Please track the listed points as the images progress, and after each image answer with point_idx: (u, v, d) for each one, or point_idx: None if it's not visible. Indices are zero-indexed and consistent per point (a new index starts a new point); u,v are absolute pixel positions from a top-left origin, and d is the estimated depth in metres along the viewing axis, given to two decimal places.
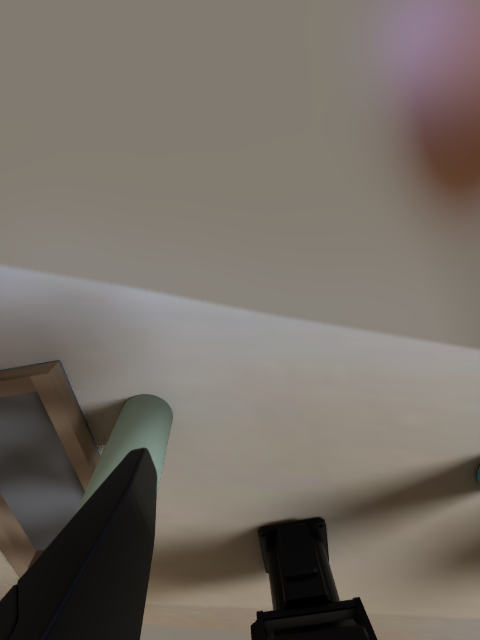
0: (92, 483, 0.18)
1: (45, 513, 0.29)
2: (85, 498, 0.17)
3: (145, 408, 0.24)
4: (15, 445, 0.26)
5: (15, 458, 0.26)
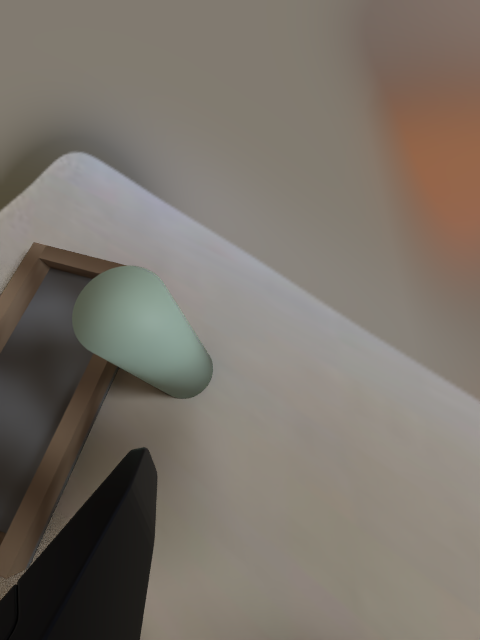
0: None
1: None
2: None
3: None
4: (52, 336, 0.25)
5: (37, 349, 0.25)
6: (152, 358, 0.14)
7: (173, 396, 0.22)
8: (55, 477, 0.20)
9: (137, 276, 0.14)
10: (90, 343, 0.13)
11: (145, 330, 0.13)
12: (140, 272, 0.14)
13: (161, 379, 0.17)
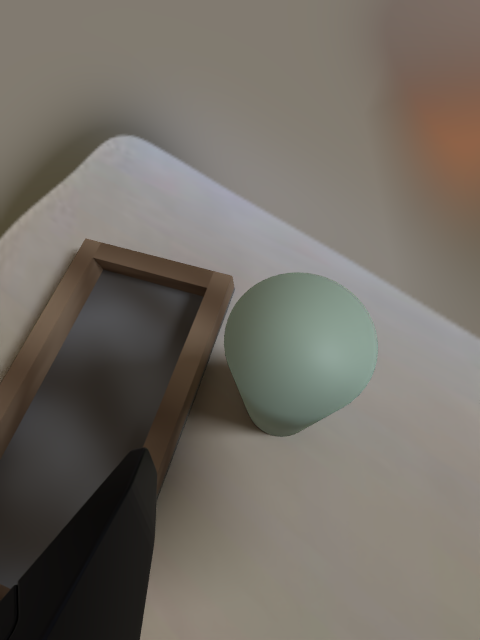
0: None
1: (37, 482, 0.18)
2: None
3: None
4: (110, 353, 0.20)
5: (92, 370, 0.20)
6: None
7: (271, 434, 0.18)
8: None
9: (316, 289, 0.09)
10: (261, 394, 0.08)
11: (347, 374, 0.08)
12: (318, 283, 0.09)
13: (301, 427, 0.12)
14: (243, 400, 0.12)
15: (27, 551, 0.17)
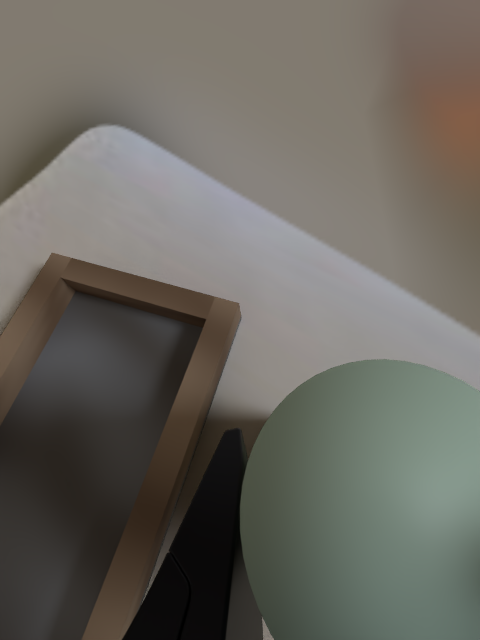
0: None
1: None
2: None
3: None
4: (81, 403, 0.16)
5: (57, 427, 0.15)
6: None
7: None
8: None
9: (426, 398, 0.04)
10: None
11: None
12: (430, 384, 0.05)
13: None
14: None
15: None
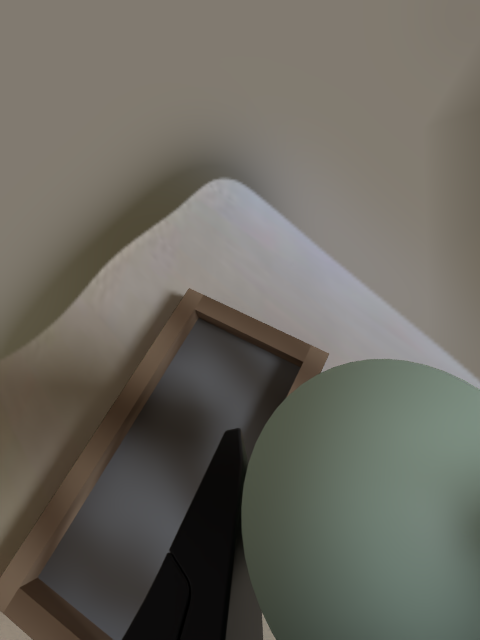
0: None
1: (122, 522, 0.19)
2: None
3: None
4: (199, 406, 0.21)
5: (181, 420, 0.21)
6: None
7: None
8: None
9: (427, 398, 0.04)
10: None
11: None
12: (431, 383, 0.05)
13: None
14: None
15: (109, 588, 0.18)
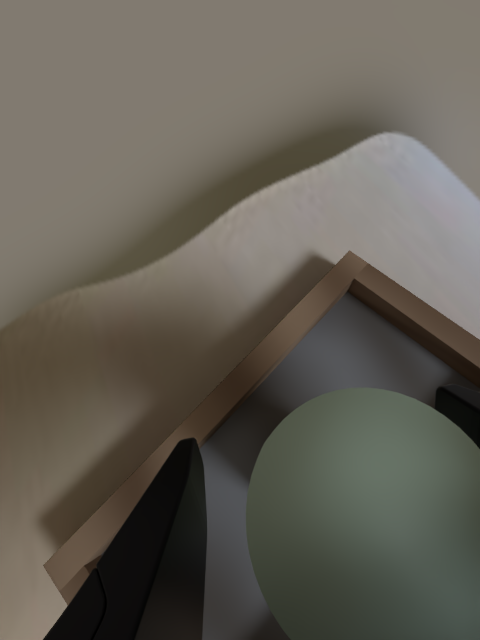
0: None
1: (215, 520, 0.15)
2: None
3: None
4: None
5: None
6: None
7: None
8: None
9: (399, 420, 0.05)
10: None
11: (472, 603, 0.05)
12: (402, 408, 0.05)
13: None
14: None
15: None
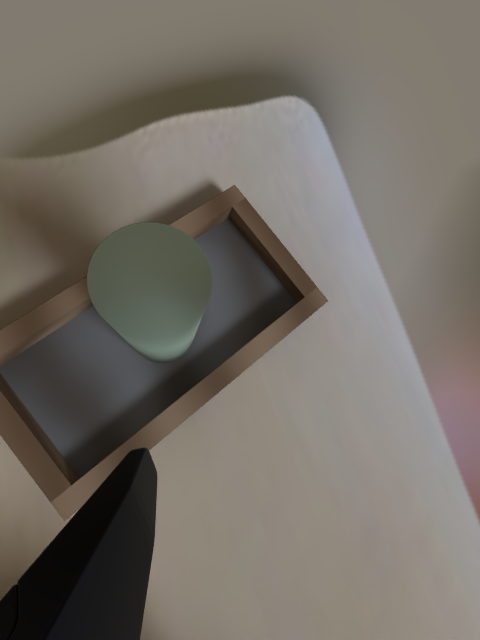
0: None
1: (92, 356, 0.20)
2: None
3: None
4: None
5: None
6: (174, 339, 0.12)
7: (148, 359, 0.20)
8: (149, 449, 0.19)
9: (175, 241, 0.11)
10: (110, 315, 0.10)
11: (181, 311, 0.11)
12: (179, 236, 0.11)
13: (160, 352, 0.15)
14: None
15: (61, 402, 0.19)
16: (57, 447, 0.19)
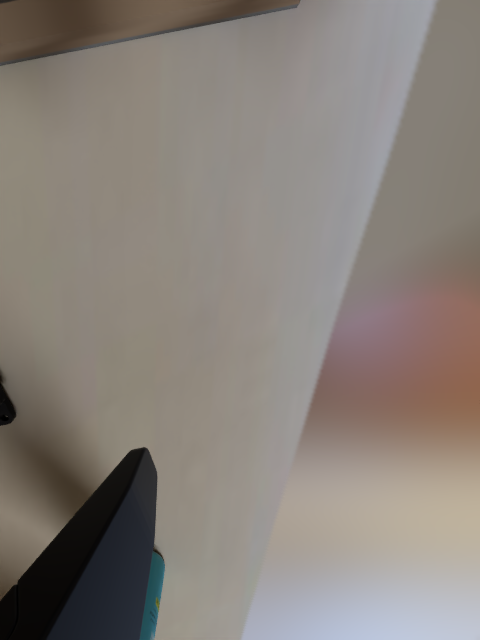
0: None
1: None
2: None
3: None
4: None
5: None
6: None
7: None
8: None
9: None
10: None
11: None
12: None
13: None
14: None
15: None
16: None
